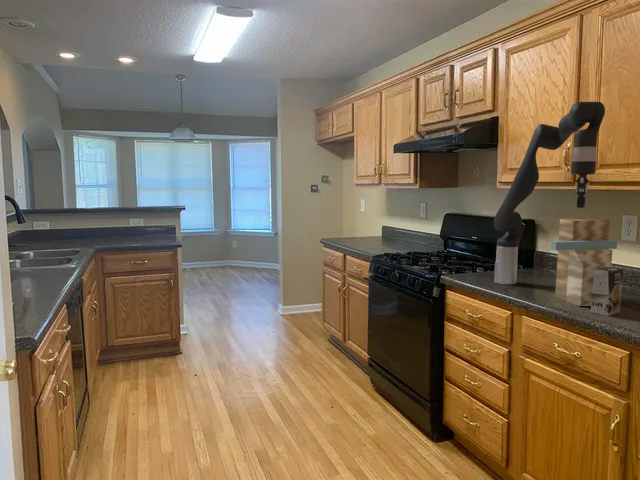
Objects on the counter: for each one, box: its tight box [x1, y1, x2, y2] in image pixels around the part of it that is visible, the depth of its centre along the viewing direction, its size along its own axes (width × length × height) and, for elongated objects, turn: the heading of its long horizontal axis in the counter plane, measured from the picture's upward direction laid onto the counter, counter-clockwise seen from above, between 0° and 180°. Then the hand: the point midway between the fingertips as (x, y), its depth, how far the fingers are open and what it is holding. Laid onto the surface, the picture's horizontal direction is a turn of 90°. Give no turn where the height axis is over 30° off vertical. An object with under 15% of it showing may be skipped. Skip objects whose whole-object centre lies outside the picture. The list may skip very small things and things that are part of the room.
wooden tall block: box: [554, 218, 611, 301], centre depth 196 cm, size 16×8×32 cm, turn 100°
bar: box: [550, 239, 618, 251], centre depth 186 cm, size 26×3×3 cm, turn 100°
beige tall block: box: [565, 249, 613, 307], centre depth 188 cm, size 12×8×22 cm, turn 100°
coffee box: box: [590, 267, 624, 317], centre depth 176 cm, size 9×6×16 cm
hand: (580, 207), depth 172 cm, fingers open, 8 cm apart
